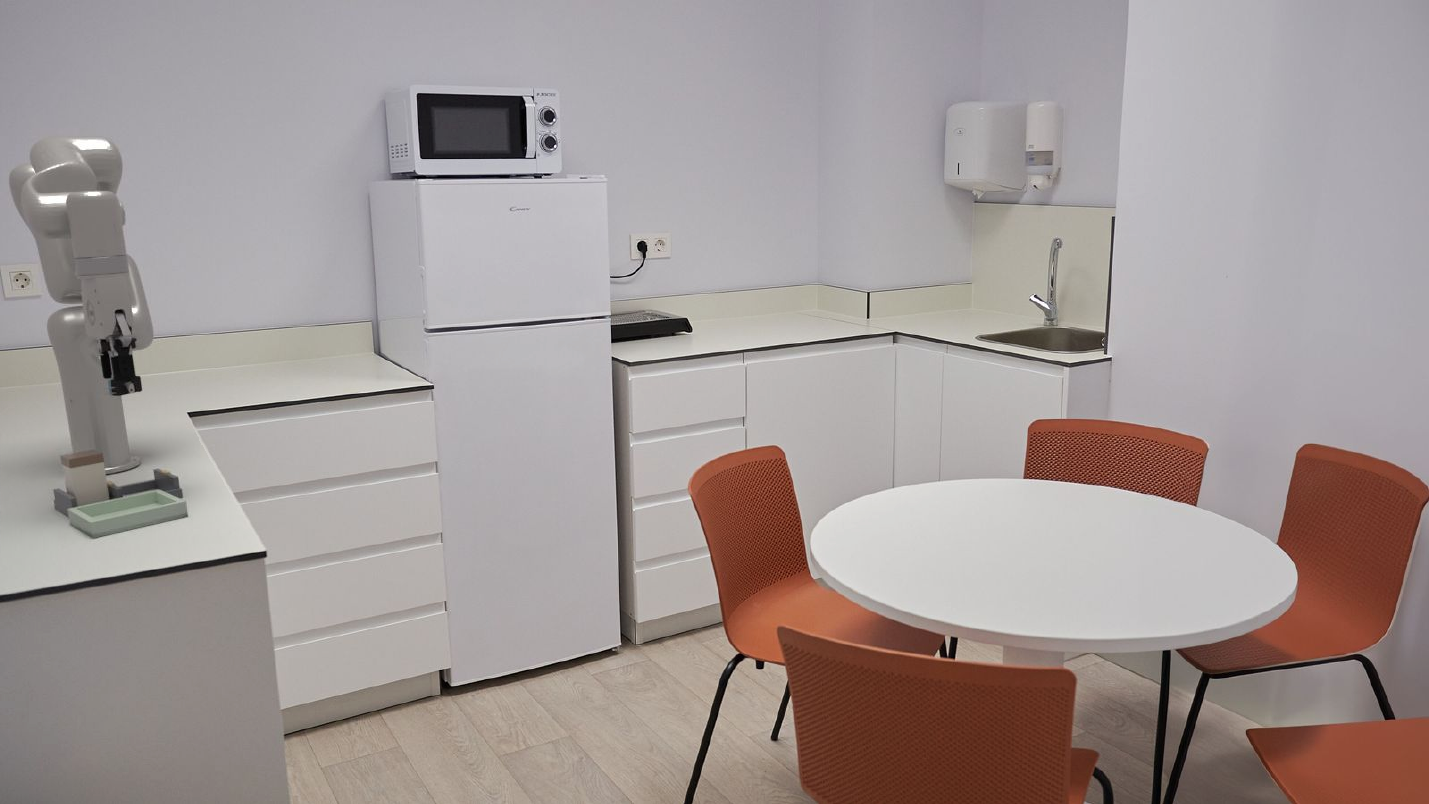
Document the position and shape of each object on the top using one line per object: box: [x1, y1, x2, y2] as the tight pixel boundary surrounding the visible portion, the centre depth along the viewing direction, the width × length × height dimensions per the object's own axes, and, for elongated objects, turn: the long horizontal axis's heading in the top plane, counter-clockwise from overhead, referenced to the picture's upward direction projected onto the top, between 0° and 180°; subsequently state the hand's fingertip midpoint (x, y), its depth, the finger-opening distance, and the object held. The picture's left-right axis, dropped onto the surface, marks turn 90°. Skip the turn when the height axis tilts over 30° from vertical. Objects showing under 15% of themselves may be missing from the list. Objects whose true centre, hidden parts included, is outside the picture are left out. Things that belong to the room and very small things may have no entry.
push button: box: [100, 334, 143, 397], centre depth 181 cm, size 7×5×10 cm
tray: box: [67, 489, 189, 539], centre depth 176 cm, size 12×14×2 cm
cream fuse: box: [60, 450, 110, 507], centre depth 183 cm, size 5×5×10 cm
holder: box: [52, 468, 184, 517], centre depth 187 cm, size 12×17×4 cm
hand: (119, 377), depth 182 cm, fingers closed on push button, 4 cm apart
